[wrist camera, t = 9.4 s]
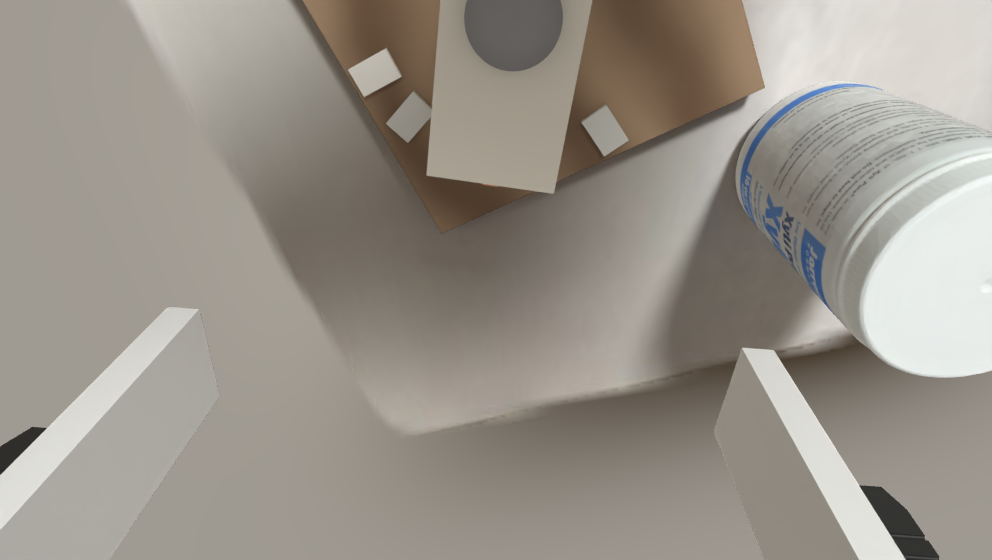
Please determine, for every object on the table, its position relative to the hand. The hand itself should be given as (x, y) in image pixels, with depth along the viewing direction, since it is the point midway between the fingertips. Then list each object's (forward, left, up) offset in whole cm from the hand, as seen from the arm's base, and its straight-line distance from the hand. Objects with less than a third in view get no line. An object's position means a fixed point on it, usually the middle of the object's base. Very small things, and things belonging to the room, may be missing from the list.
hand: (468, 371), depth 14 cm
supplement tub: (-16, +10, -23) cm, 30 cm away
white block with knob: (-3, -4, -21) cm, 22 cm away
